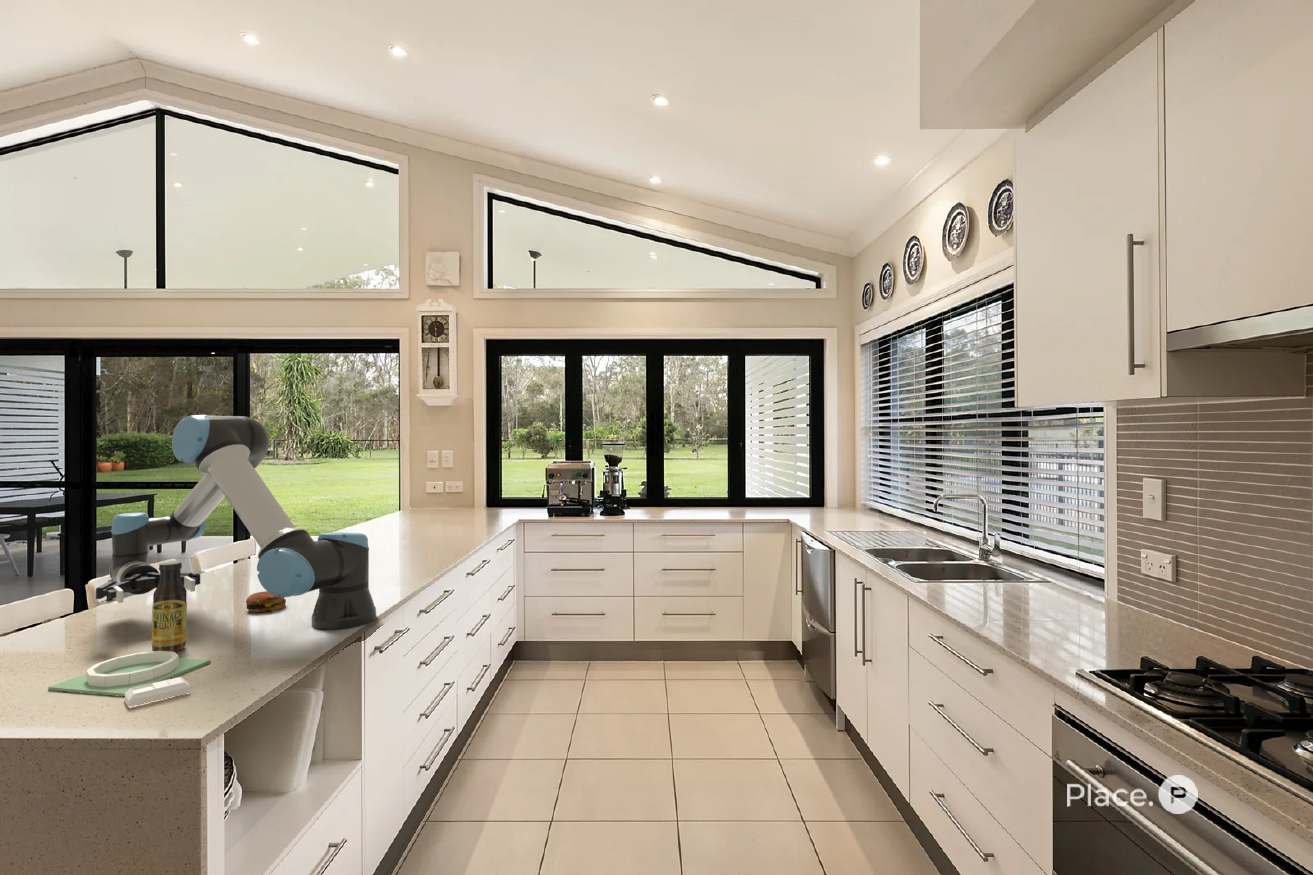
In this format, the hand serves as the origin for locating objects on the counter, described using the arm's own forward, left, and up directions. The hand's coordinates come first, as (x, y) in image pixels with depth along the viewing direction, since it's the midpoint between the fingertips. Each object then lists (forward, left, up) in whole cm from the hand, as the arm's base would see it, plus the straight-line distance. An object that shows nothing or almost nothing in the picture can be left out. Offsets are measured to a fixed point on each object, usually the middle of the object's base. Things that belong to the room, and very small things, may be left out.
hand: (158, 591), depth 150 cm
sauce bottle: (-9, +5, -12) cm, 16 cm away
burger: (-2, -29, -12) cm, 32 cm away
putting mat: (-16, +19, -12) cm, 27 cm away
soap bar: (-31, +27, -13) cm, 43 cm away
